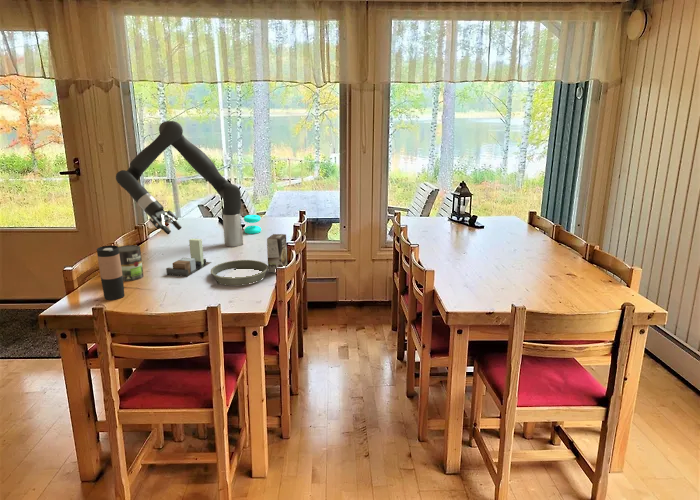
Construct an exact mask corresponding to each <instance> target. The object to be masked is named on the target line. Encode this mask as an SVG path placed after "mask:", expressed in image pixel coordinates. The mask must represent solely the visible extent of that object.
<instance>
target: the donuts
mask: <svg viewBox="0 0 700 500" xmlns="http://www.w3.org/2000/svg"><path fill="white" fill-rule="evenodd" d="M243 221H244V222H245V223H249V224H256V223H259V222H260V221H261V216H260V215H258V214H248V215H245V216H244V217H243ZM261 231H262V227H260V225H248V226H246V227H245V228H244V230H243V232H244V233H245V234H249V235H256V234H259V233H261ZM255 233H256V234H255Z"/></svg>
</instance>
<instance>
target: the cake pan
mask: <svg viewBox="0 0 700 500" xmlns="http://www.w3.org/2000/svg"><path fill="white" fill-rule="evenodd" d="M232 269H233V270H236V269H254V270H259V271H262V272H261V273H258V274H255V275H252V276H246V277H235V278H232V277H224V276H220V275H219V273H221V272H224V271H226V270H227V271H228V270H232ZM267 272H268V263H265V262H263V261H259V260H254V259H237V260H235V259H234V260H229V261H225V262H220V263H218V264H217V265H214V266H213V267H212V268H211V269H210V273H211V275H212V276H213V277H214V279H215V280H216V282H217V283H218V284H220V283H221V284H220V285H223V284H226V285H225V286H229V285H242V284H249V283H253V282H256V281H259V280H261V279H262V278H264V279H265V277H266V273H267ZM264 276H265V277H264ZM261 281H262V280H261ZM259 282H260V281H259ZM253 284H254V283H253ZM249 285H250V284H249ZM242 286H243V285H242Z"/></svg>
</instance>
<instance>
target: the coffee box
mask: <svg viewBox="0 0 700 500" xmlns="http://www.w3.org/2000/svg"><path fill="white" fill-rule="evenodd" d="M266 249H267V251H266V252H267V266H268V269H267V272H268V273H269V272H274V273H273V274H276V273H275V269H276V268H277V267H283V266H286V265H287V266H288V254H287V253H288V252H287V250H288V249H287V234H284V233H281V234H279V233H277V234H276V233H273V234H272V235H270V236H269V237H267V238H266Z"/></svg>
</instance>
